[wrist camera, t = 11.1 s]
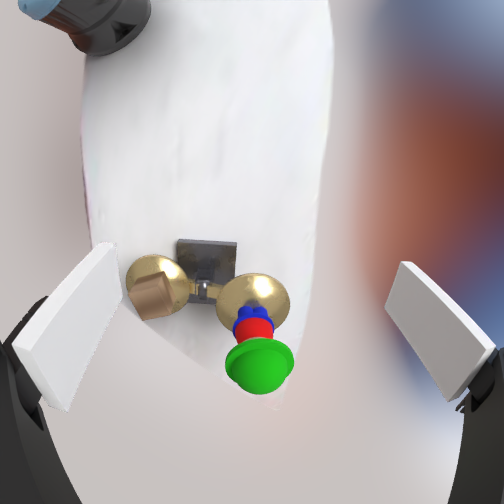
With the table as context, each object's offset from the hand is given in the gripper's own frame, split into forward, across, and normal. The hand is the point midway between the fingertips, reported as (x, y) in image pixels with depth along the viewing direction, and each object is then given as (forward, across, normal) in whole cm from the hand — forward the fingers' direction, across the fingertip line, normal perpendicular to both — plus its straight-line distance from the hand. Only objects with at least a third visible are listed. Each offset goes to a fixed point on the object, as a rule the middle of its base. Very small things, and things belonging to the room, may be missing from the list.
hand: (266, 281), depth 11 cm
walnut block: (+27, -12, -18) cm, 35 cm away
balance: (+34, -5, -18) cm, 38 cm away
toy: (+23, +3, -18) cm, 29 cm away
